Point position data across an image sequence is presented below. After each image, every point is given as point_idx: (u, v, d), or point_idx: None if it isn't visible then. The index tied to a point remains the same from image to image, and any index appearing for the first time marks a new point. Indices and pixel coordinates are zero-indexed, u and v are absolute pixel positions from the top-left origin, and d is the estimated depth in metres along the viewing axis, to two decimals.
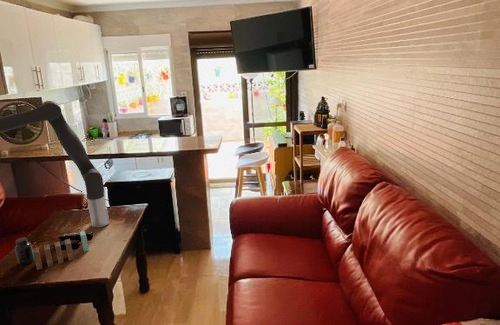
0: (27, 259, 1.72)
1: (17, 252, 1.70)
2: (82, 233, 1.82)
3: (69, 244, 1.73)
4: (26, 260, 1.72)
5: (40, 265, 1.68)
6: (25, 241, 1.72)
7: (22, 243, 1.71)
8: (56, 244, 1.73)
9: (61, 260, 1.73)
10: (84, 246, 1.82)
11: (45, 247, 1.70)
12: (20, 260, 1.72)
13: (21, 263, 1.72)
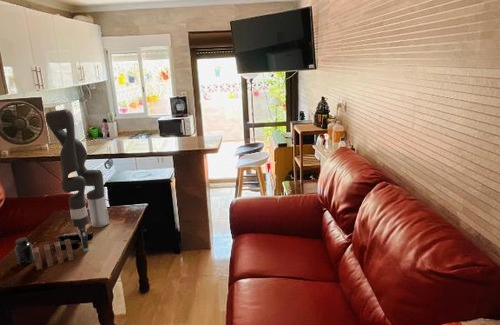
0: (27, 259, 1.72)
1: (17, 252, 1.70)
2: None
3: (69, 244, 1.73)
4: (26, 260, 1.72)
5: (40, 265, 1.68)
6: (25, 241, 1.72)
7: (22, 243, 1.71)
8: (56, 244, 1.73)
9: (61, 260, 1.73)
10: None
11: (45, 247, 1.70)
12: (20, 260, 1.72)
13: (21, 263, 1.72)
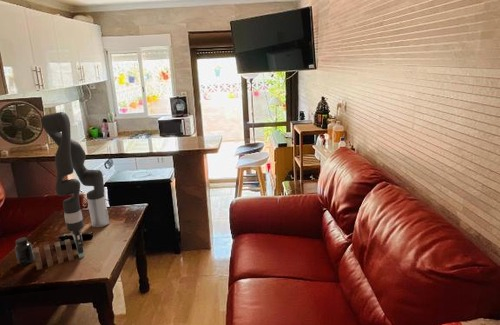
0: (27, 259, 1.72)
1: (17, 252, 1.70)
2: None
3: (69, 244, 1.73)
4: (26, 260, 1.72)
5: (40, 265, 1.68)
6: (25, 241, 1.72)
7: (22, 243, 1.71)
8: (56, 244, 1.73)
9: (61, 260, 1.73)
10: None
11: (45, 247, 1.70)
12: (20, 260, 1.72)
13: (21, 263, 1.72)
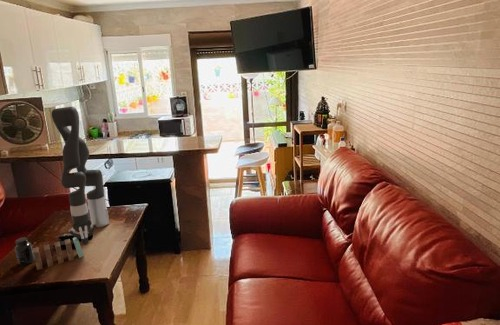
0: (27, 259, 1.72)
1: (17, 252, 1.70)
2: (75, 239, 1.76)
3: (69, 244, 1.73)
4: (26, 260, 1.72)
5: (40, 265, 1.68)
6: (25, 241, 1.72)
7: (22, 243, 1.71)
8: (56, 244, 1.73)
9: (61, 260, 1.73)
10: (78, 252, 1.76)
11: (45, 247, 1.70)
12: (20, 260, 1.72)
13: (21, 263, 1.72)
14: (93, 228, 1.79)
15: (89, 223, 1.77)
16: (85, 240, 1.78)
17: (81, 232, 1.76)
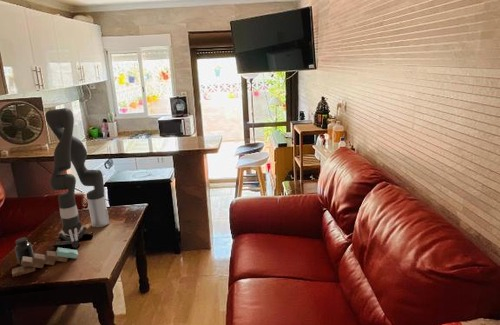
0: None
1: (17, 252, 1.70)
2: (57, 252, 1.73)
3: (48, 256, 1.70)
4: None
5: (30, 269, 1.67)
6: (25, 241, 1.72)
7: (22, 243, 1.71)
8: (33, 258, 1.69)
9: (51, 261, 1.71)
10: (71, 256, 1.75)
11: (21, 261, 1.66)
12: (20, 260, 1.72)
13: None
14: (83, 231, 1.77)
15: (79, 225, 1.75)
16: (75, 243, 1.76)
17: (71, 235, 1.74)
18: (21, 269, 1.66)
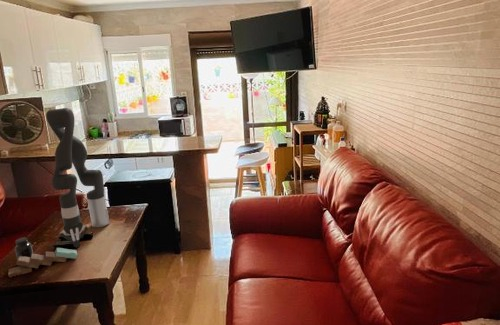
0: None
1: (17, 252, 1.70)
2: (56, 252, 1.73)
3: (47, 257, 1.69)
4: None
5: (26, 270, 1.66)
6: (25, 241, 1.72)
7: (22, 243, 1.71)
8: (30, 258, 1.69)
9: (48, 262, 1.70)
10: (70, 256, 1.75)
11: None
12: None
13: None
14: (84, 230, 1.77)
15: (80, 225, 1.76)
16: (76, 242, 1.76)
17: (72, 234, 1.74)
18: (18, 269, 1.66)
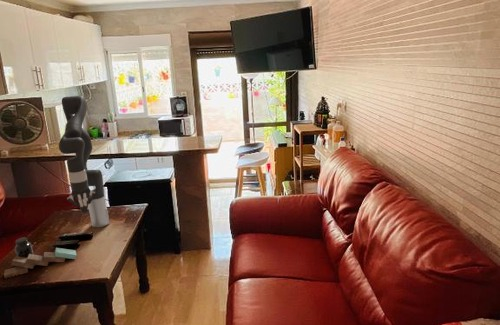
0: None
1: (17, 252, 1.70)
2: (55, 252, 1.73)
3: (45, 258, 1.69)
4: None
5: (22, 271, 1.66)
6: (25, 241, 1.72)
7: (22, 243, 1.71)
8: None
9: (45, 262, 1.70)
10: (69, 257, 1.75)
11: None
12: None
13: None
14: (92, 196, 1.75)
15: (88, 191, 1.73)
16: (84, 208, 1.74)
17: (80, 200, 1.72)
18: (13, 270, 1.65)
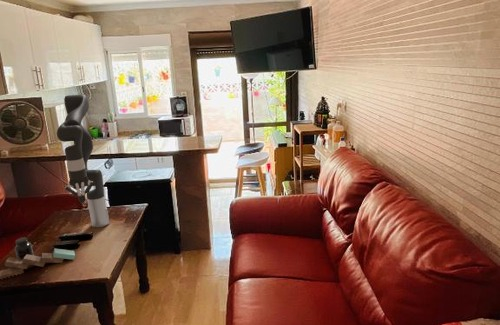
0: None
1: (17, 252, 1.70)
2: (53, 253, 1.73)
3: (43, 259, 1.69)
4: None
5: (18, 272, 1.65)
6: (25, 241, 1.72)
7: (22, 243, 1.71)
8: None
9: (41, 263, 1.69)
10: (67, 257, 1.74)
11: None
12: None
13: None
14: (90, 185, 1.74)
15: (86, 180, 1.72)
16: (82, 197, 1.73)
17: (78, 189, 1.70)
18: (9, 271, 1.65)
